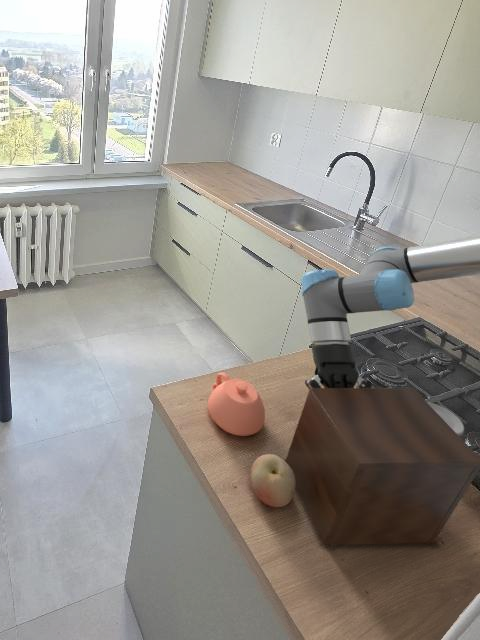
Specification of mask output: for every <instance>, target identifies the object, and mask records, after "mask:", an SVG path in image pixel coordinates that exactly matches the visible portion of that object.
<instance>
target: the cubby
mask: <svg viewBox="0 0 480 640" xmlns="http://www.w3.org/2000/svg"><path fill="white" fill-rule="evenodd" d="M427 402H428V401H426V400H425V399H424V398H423V397H422V396H421V394H420V393H418V392H417V390H416V389H415V388H414V387H371V388H356V387H354V388H324V387H321V388H310V390H309V389H308V393H307V395H306V399H305V402H304V405H303V408H302V410H301V413H300V417H299V419H298V423H297V426H296V429H295V432H294V435H293V437H292V440H291V443H290V447H289V450H288V452H287V455H286V458H285V460H284V461H285V462H286V463H287V464H288V465H289V466H290V468H291V469H292V471H293V473H294V475H295V480H296V488H295V489H296V490H297V493H298V494H299V497H300V498H301V500H302V501H301V502H302V503H303V505H304V507H305V509H306V511H307V513H308V515H309V517H310V519H311V522H312V523H313V525H314V528H315V530H316V531H317V533H318V536H319V538H320V539H321V542H322V544H323V545H325V546H328V545H332V546H333V545H369V544H370V545H375V544H376V545H377V544H417V543H418V544H420V543H421V544H422V543H423V544H424V543H425V544H426V543H427V544H428V543H435V542H436V540H437V539H438V537H439V535H440V534H441V532H442V530H443V529H444V527H445V526H446V524H447V523H448V521H449V519H450V518H451V516H452V514H453V513H454V511H455V510H456V508H457V506H458V504H459V503H460V502H461V500H462V498H463V497H464V495H465V493H466V492H467V490H468V489H469V487H470V486H471V484H472V482H473V481H474V480H475V477H476V476H477V475H478V474H479V471H480V456H478V454H477V453H476V452H475V451H474V450H473V449H472V448H471V447H470V446H469V445H468V444H467V443H466V441H465V440H463V438H462V437H461V438H460V437H459V436H458V435H457V434H456V432H455V431H454V430H453V429H452V428H451V427H450V426H449V425H448V424H447V423H446V422H445V421H444V420H443V419H442V418H441V417H440V416H439V415H438V414H437V413H436V412H435V410H434V409H433V408H432V407H431V406H430V405H429V404H428V403H427Z"/></svg>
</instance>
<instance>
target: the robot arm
mask: <svg viewBox="0 0 480 640" xmlns="http://www.w3.org/2000/svg"><path fill="white" fill-rule="evenodd" d="M479 275H480V234H477V235H471V236H466V237H460V238H455V239H448V240H444V241H443V240H442V241H438V242H433V243H427V244H420V245H415V246H410V247H404V248H403V247H402V248H398V247H395V246H391V245H390V246H389V245H387V246H381V247H378V248H377V249H375V250H374V251H373V252H372V253H370V255H369V256H368V257H367V260H366V261H365V264H364V267H363V268H362V270H361V271H360V273H359V274H355V275H351V276H350V275H349V276H343V277H342V276H340V275H339V272H337V270H334V269H329V268H327V269H315V270H310V271H307V272H305V273H303V274H302V276H301V289H302V292H301V295H302V297H303V302H304V308H305V314H306V320H307V327H308V332H309V339H310V343H312V344H314V345H313V346H312V347H311V352H312V353H311V354H312V359H313V363H314V365H315V369H314V376H312V377H311V378H310V379H305V380H304V385H305V386H306V388H307V389H308V391H309V390H310V388H322V387H323V388H373V387H372V386H373V382H372V381H371V380H366V379H364V378H363V377H361V376H360V375H359V371H358V370H357V369H356V357H355V351H354V347H353V346H352V345H351V344H350V343H352V336H351V332H350V326H349V322H348V317H347V315H348V314H356V313H357V314H359V313H370V312H372V313H373V312H383V311H396V310H402V309H407V308H410V307H412V306H413V305H414V303H415V292H414V288H413V284H415V283H416V284H417V283H422V282H430V281H437V280H446V279H455V278H463V277H469V276H479Z"/></svg>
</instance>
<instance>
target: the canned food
mask: <svg viewBox="0 0 480 640" xmlns="http://www.w3.org/2000/svg"><path fill="white" fill-rule="evenodd" d="M426 402H427V403H428V404H429V405H430V406H431V407H432V408H433V409H434V410H435V412H436V413H437V414H438V415H439V416H440V417H441V418H442V419H443V420H444V421H445V422H446V423H447V424H448V425H449V426H450V427H451V428H452V429H453V430H454V431H455V432H456V434H457V435H458V436H459V437H460V438H461V439H462V436H463V434H464V432H465V426H464V424H463V422H462V421H461V419H460V418H459V417H458V416H457V415H456V414H454V412H452V411H450V410H449V409H447V408H445V407H444V406H442V405H439V404H436V403H433V402H428V401H426Z"/></svg>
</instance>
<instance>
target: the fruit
mask: <svg viewBox="0 0 480 640" xmlns="http://www.w3.org/2000/svg"><path fill="white" fill-rule="evenodd" d="M285 461H286V460H284V459H283V458H282V457H281V456H279V455H277V454H272V453H271V454H269V453H268V454H267V453H266V454H263V455H261V456H259V457H257V458H255V460H254V462H253V464H252V465H251V469H250V477H249V478H250V479H249V480H250V485H251V489H252V492H253V493H254V495H255V496H256V497H257V498H258V499H259V500H260V501H261V502H262V503H264V504H265V505H267V506H269V507H273V508H283V507H286V506H287V505H288V504H290V502H291V501H292V498H293V496H294V494H295V492H296V489H297V488H296V480H295V475H294V473H293V471H292V469H291V468H290V466H289V465H288V464H287V463H286V462H285Z"/></svg>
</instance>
